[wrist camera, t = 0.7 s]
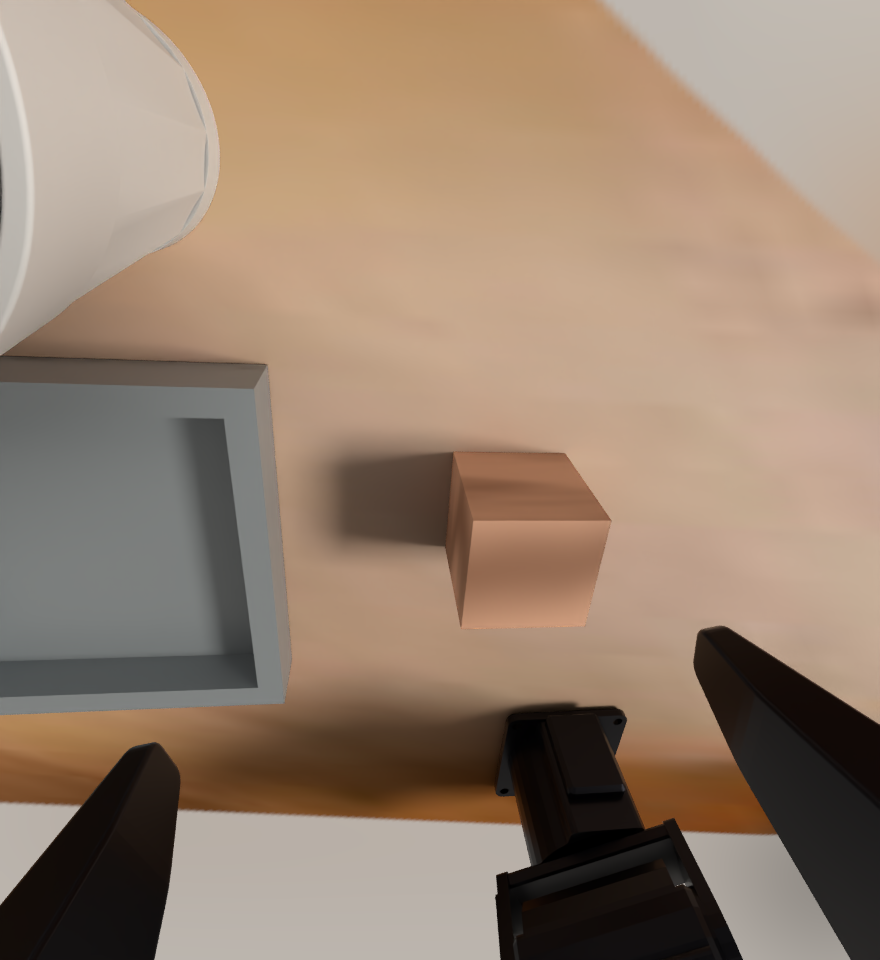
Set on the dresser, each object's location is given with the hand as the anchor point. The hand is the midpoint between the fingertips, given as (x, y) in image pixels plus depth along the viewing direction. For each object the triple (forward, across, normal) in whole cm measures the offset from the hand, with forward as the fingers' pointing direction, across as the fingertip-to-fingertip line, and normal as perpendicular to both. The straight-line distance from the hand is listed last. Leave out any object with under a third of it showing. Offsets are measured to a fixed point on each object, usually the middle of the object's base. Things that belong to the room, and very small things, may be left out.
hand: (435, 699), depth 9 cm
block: (+13, -4, +6) cm, 14 cm away
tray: (+13, +12, +4) cm, 18 cm away
